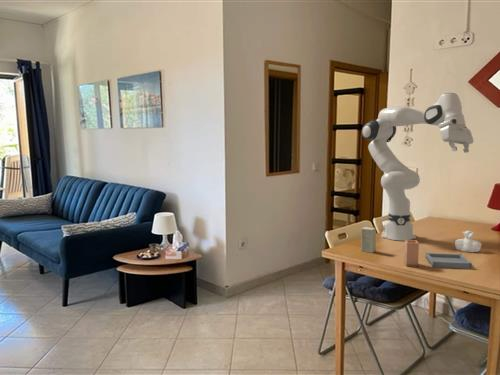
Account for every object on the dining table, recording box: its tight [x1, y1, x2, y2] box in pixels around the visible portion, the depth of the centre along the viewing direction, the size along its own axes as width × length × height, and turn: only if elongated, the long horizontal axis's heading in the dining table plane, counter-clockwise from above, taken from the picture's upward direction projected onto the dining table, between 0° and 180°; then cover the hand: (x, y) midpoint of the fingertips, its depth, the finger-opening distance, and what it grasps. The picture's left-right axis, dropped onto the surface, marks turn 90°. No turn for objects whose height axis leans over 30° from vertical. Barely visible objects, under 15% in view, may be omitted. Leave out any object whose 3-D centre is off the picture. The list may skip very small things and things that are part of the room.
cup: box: [403, 239, 420, 268], centre depth 184 cm, size 5×5×11 cm
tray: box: [424, 252, 473, 270], centre depth 186 cm, size 14×16×2 cm
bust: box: [454, 230, 482, 253], centre depth 205 cm, size 12×8×11 cm
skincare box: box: [360, 226, 377, 254], centre depth 206 cm, size 6×4×12 cm
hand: (460, 151), depth 191 cm, fingers open, 8 cm apart
